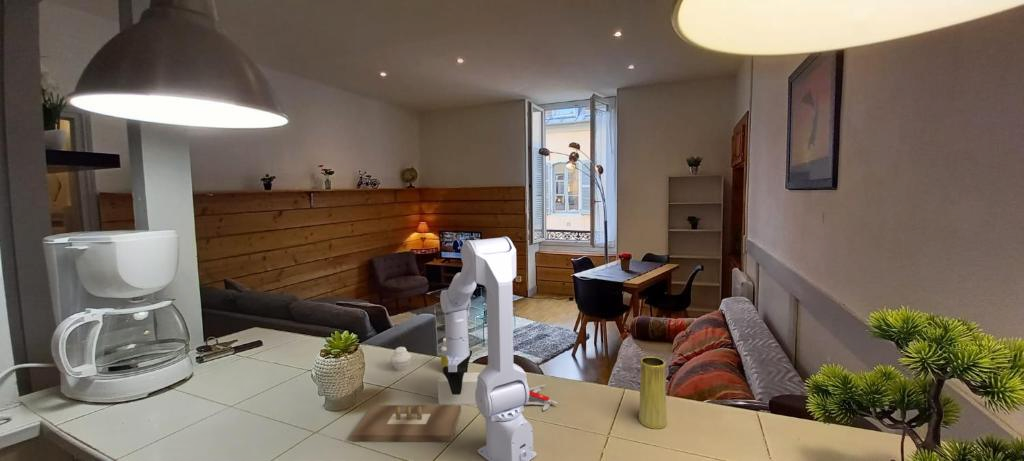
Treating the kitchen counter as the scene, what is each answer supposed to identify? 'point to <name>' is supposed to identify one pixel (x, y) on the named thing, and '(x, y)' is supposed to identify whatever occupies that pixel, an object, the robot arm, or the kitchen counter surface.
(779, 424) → the kitchen counter surface
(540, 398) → the swiss army knife
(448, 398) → the block
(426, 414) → the pin board
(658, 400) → the vase
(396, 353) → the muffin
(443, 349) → the supplement bottle
